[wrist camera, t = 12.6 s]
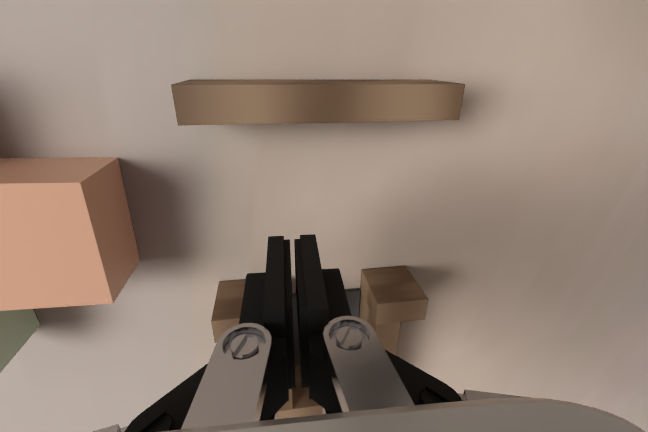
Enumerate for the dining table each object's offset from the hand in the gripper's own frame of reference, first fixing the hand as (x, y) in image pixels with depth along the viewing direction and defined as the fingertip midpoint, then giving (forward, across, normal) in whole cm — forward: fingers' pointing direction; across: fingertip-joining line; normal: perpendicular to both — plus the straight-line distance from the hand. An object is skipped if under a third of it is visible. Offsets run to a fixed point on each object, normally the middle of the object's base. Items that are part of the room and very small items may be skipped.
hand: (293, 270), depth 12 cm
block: (+7, +12, +1) cm, 14 cm away
